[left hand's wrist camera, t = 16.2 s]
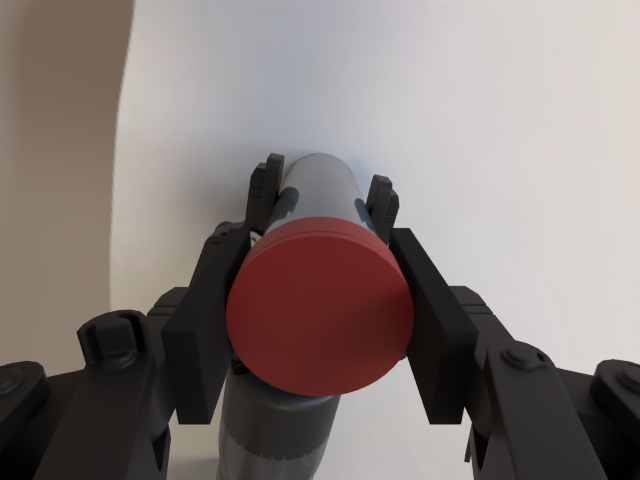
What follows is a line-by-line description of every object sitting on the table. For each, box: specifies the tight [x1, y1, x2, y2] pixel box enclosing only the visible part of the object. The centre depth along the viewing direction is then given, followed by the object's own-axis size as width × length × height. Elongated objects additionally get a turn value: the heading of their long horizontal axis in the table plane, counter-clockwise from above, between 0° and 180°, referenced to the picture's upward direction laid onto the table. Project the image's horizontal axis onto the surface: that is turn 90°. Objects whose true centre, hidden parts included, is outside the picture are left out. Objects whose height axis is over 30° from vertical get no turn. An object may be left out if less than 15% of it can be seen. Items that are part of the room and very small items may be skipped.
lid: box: [225, 216, 415, 396], centre depth 11 cm, size 5×5×2 cm
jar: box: [261, 154, 379, 238], centre depth 18 cm, size 5×5×15 cm
